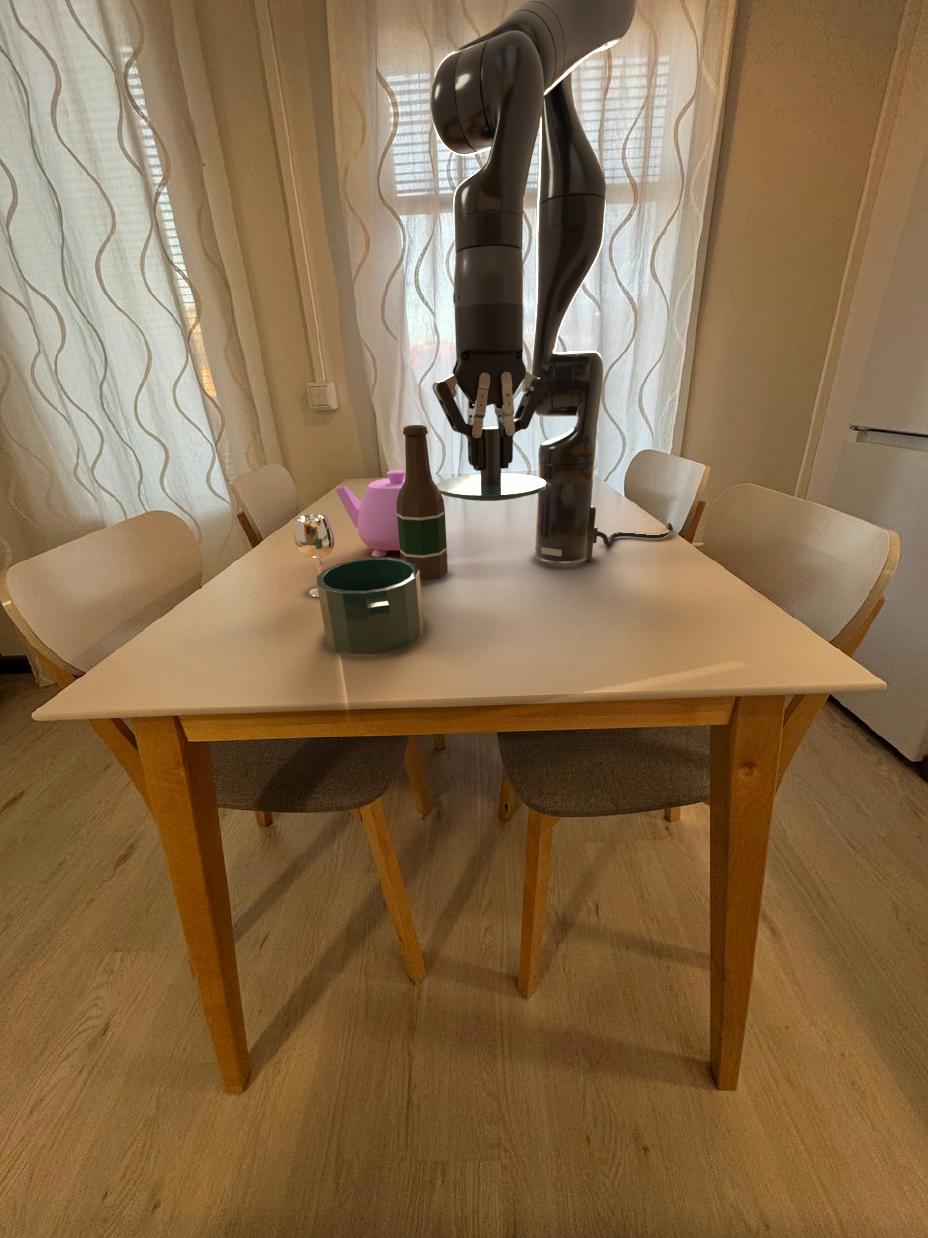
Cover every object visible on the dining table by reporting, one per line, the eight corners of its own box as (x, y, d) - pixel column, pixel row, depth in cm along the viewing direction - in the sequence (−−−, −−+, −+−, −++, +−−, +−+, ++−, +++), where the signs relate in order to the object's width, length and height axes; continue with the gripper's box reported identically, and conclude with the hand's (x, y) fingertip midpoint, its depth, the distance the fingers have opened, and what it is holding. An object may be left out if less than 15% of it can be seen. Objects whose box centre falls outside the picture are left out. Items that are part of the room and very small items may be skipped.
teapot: (363, 532, 112) (354, 462, 105) (451, 532, 109) (448, 461, 102) (329, 561, 94) (317, 479, 88) (434, 562, 91) (428, 478, 85)
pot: (409, 601, 76) (404, 547, 72) (438, 657, 60) (433, 592, 56) (324, 614, 73) (314, 558, 69) (330, 676, 57) (319, 609, 53)
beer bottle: (457, 574, 86) (451, 424, 75) (424, 587, 81) (412, 428, 70) (426, 564, 90) (416, 422, 80) (393, 576, 85) (378, 427, 75)
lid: (520, 478, 70) (521, 420, 67) (565, 497, 59) (569, 428, 55) (425, 487, 67) (421, 426, 64) (453, 509, 55) (450, 437, 52)
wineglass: (332, 599, 77) (320, 523, 72) (298, 597, 79) (283, 522, 73) (347, 585, 82) (337, 513, 77) (315, 584, 84) (303, 512, 78)
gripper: (434, 299, 49) (443, 478, 57) (563, 299, 53) (556, 468, 60) (418, 308, 56) (428, 468, 63) (534, 308, 59) (530, 460, 67)
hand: (490, 467), depth 62 cm, fingers closed on lid, 2 cm apart
